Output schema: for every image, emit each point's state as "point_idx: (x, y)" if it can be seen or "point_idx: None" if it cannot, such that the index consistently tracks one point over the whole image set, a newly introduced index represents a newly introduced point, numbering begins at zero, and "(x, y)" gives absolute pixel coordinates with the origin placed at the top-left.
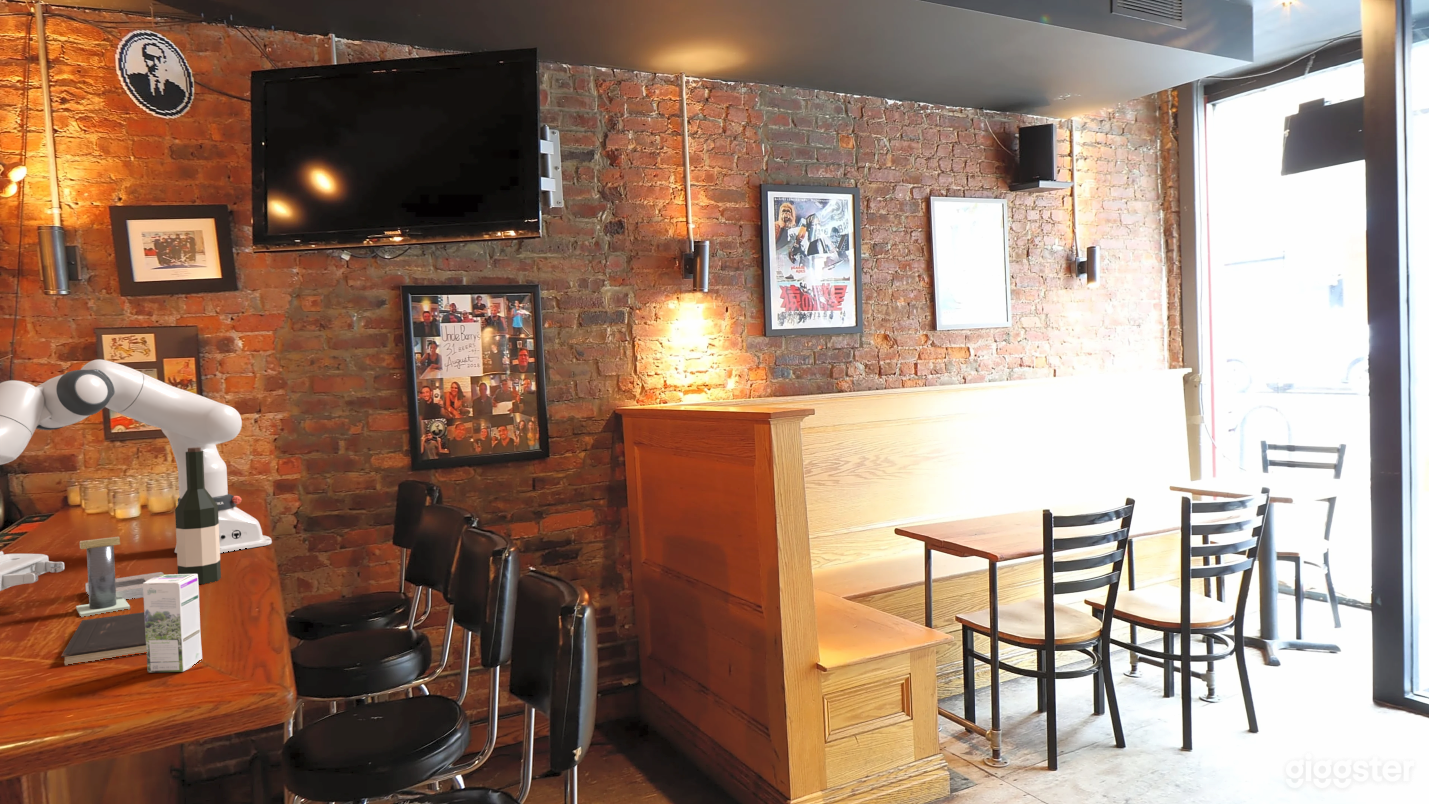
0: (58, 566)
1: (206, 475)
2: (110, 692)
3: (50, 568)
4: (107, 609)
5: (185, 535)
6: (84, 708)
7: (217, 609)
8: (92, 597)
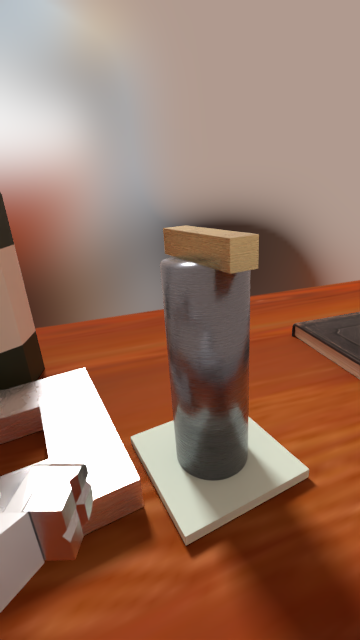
0: (84, 482)
1: None
2: None
3: (17, 568)
4: (257, 427)
5: (1, 267)
6: None
7: (255, 321)
8: (246, 430)
